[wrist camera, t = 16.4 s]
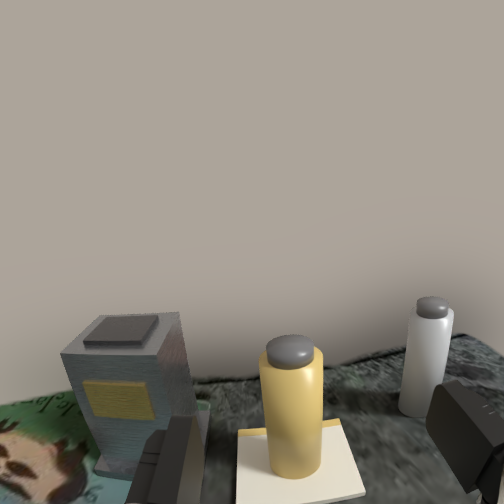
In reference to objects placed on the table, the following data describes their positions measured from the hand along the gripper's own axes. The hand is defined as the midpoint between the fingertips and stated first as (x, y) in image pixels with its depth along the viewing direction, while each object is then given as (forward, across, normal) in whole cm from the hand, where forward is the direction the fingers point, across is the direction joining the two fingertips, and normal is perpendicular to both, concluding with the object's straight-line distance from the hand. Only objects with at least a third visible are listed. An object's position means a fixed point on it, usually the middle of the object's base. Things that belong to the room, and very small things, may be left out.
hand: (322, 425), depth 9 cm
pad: (+11, -1, +16) cm, 20 cm away
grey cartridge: (+16, -15, +16) cm, 27 cm away
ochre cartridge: (+11, -1, +15) cm, 19 cm away
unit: (+14, +12, +16) cm, 25 cm away
